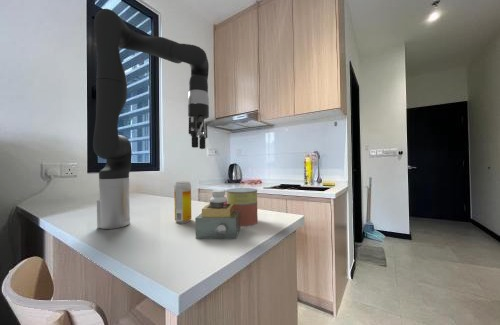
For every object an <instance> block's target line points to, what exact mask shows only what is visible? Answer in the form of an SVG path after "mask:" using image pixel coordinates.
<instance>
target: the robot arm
mask: <svg viewBox="0 0 500 325" xmlns="http://www.w3.org/2000/svg"><path fill="white" fill-rule="evenodd" d="M93 30H94V36H95V37H94V39H95V46H96V77H95V78H96V84H95V85H96V86H95V88H96V90H95V91H96V106H95V107H96V109H95V111H96V113H95V123H94V131H93V138H92V148H93V152H94V153H95V155H96V156H97V157H98V158H100V159H103V160H106V163H105V165H104V167H103V168H101V169H100V170H99V172H98V188H99V189H98V190H99V191H98V196H99V197H98V198H99V199H98V200H96V221H97V222H96V223H97V224H96V225H97V226H96V227H97V228H98V229H102V230H110V229H111V230H113V229H118V228H123V227H126V226H128V225H130V224H131V215H130V214H131V212H130V210H131V206H130V205H131V204H130V203H131V202H130V172H131V170H132V153H133V152H132V150H133V149H132V144H131V141H130V140H129V139H128V137H126V136H124V135H121V134H119V118H120V115H121V113H122V111H123V110H124V107H125V105H126V103H127V99H128V98H127V97H128V81H127V75H126V72H125V68H124V64H123V62H122V58H121V53H120V49H124V50H129V51H130V50H131V51H135V52H138V53H139V52H140V53H144V54H147V55H151V56H154V57H158V58H161V59H162V60H165V61H168V62H171V63H173V64H181V63H185V64H188V65H189V66H190V77H189V78H188V97H187V110H188V111H187V116H188V135H190V137H191V148H199V149H200V150H205V149H206V140H207V139H208V123H206V122H205V120H206V119H209V117H210V111H209V110H210V109H209V108H210V107H209V106H210V105H209V104H210V101H209V100H210V99H209V81H208V80H209V79H208V78H209V69H210V68H209V60H208V57H207V53H206V51H205V50H204V49H203V48H202V47H200V46H197V45H194V44H189V43H180V42H177V41H174V40H172V39H169V38H167V37H162V36H148V35H142V34H140V33H138V32H135V31H134V30H133V29H130V28H129V27H128V25H127V24H126V23H125V22H124V21H123V19H122V18H121V17H120V15H118V14H117V12H115V11H114V10H112V9H110V8H102V9H100V10H98V12H96V14H95V16H94V20H93Z"/></svg>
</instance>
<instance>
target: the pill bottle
mask: <svg viewBox="0 0 500 325" xmlns="http://www.w3.org/2000/svg"><path fill="white" fill-rule="evenodd" d="M225 195H226V191H225V190H224V189H214V190H212V191H211V196H212V197H210V199H209V203H210V208H227V196H226V197H225Z"/></svg>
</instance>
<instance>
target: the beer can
mask: <svg viewBox="0 0 500 325" xmlns="http://www.w3.org/2000/svg"><path fill="white" fill-rule="evenodd" d="M173 188H174V192H173V193H174V199H173V200H174V221H175V222H176V223H177V224H184V223H189V222H190V221H191V220H192V185H191V182H190V181H188V180H187V181H175V183H174V185H173Z"/></svg>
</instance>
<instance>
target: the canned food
mask: <svg viewBox="0 0 500 325" xmlns="http://www.w3.org/2000/svg"><path fill="white" fill-rule="evenodd" d="M226 198H227V203H234V210H240V228H244V227H246V228H247V227H252V226H255V225H258V223H259V220H258V189H257V188H254V187H253V188H250V187H236V188H229V189H227V190H226Z"/></svg>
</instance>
